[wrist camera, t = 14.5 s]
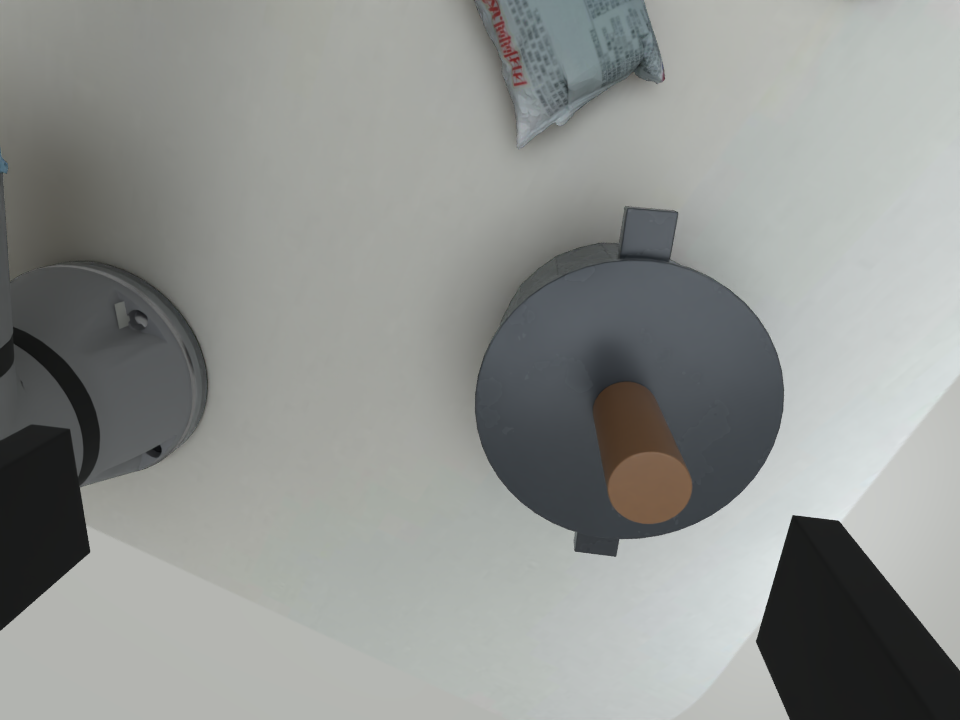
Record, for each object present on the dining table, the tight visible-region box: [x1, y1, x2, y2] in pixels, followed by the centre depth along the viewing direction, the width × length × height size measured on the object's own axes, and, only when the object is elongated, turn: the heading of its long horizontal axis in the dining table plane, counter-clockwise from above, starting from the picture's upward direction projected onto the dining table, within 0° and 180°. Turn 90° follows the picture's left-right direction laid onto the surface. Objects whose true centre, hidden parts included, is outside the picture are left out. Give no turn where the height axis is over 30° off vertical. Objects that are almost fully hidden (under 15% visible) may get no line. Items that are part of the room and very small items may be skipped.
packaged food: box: [474, 0, 665, 149], centre depth 31 cm, size 9×12×5 cm
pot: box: [499, 206, 680, 557], centre depth 35 cm, size 14×19×9 cm
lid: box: [475, 258, 784, 539], centre depth 27 cm, size 15×15×9 cm
